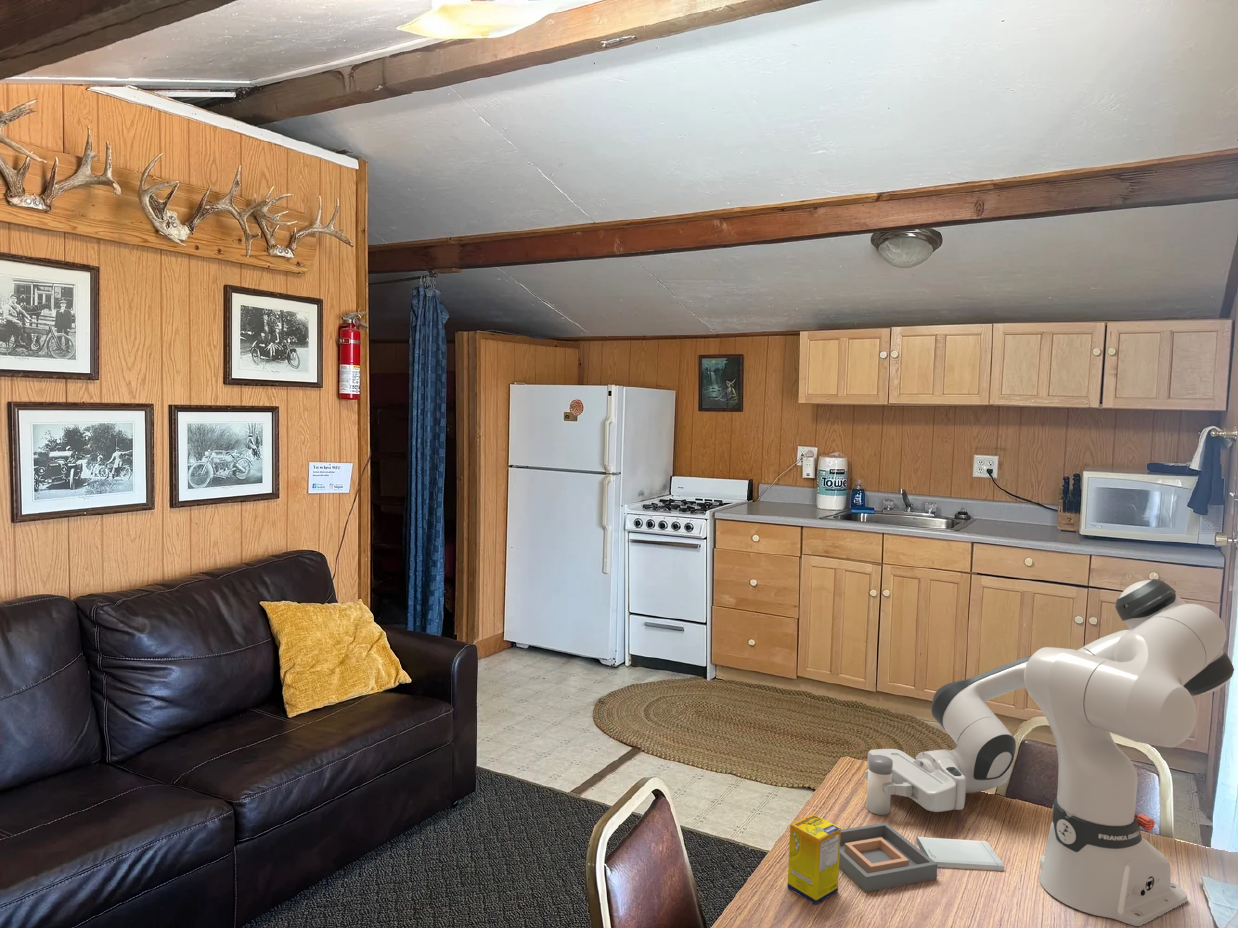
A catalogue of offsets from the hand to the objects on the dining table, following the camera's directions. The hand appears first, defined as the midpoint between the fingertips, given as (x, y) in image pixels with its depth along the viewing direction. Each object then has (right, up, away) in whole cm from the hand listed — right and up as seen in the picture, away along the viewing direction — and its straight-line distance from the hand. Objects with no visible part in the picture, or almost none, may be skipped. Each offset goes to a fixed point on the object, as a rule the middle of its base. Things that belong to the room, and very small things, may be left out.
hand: (875, 782), depth 162 cm
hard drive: (+10, -8, -15) cm, 20 cm away
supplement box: (-19, -8, -27) cm, 33 cm away
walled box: (-6, -7, -18) cm, 20 cm away
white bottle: (+1, -6, +1) cm, 6 cm away
